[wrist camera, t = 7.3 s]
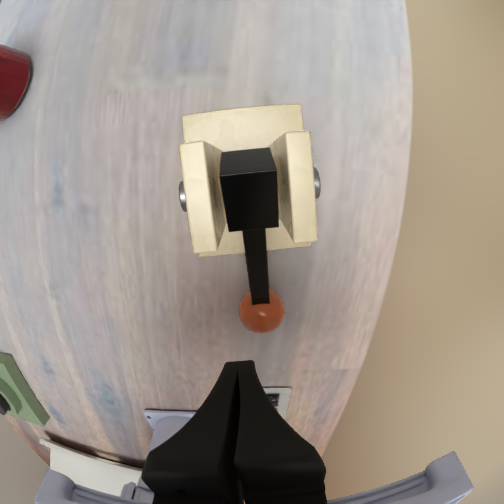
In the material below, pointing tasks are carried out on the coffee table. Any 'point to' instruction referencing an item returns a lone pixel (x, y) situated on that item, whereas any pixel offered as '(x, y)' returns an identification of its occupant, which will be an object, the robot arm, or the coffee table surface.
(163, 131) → the coffee table surface
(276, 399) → the multicoloured flat piece
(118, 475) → the tablet stand
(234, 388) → the robot arm
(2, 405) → the button
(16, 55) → the soda can
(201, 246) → the bracket
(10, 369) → the button block
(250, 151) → the lever
